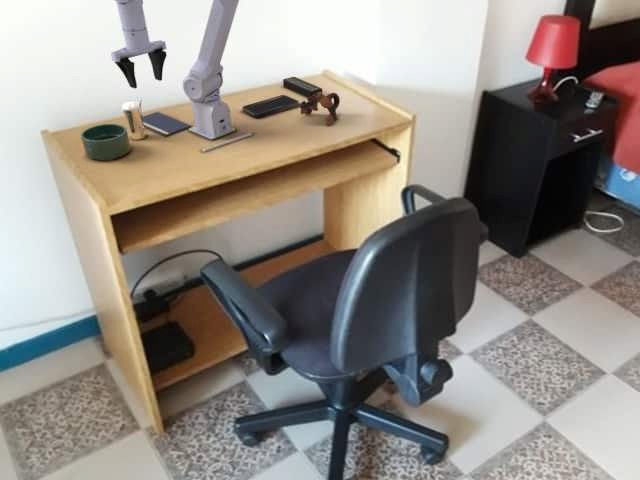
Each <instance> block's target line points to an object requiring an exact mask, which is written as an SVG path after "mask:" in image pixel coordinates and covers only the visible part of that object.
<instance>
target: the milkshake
mask: <svg viewBox="0 0 640 480" xmlns="http://www.w3.org/2000/svg"><path fill="white" fill-rule="evenodd" d="M121 110H122V113H123V115H124V118H125V121H126V124H127V127H128V130H129V133H130V137H131V139H132V140H136V141H138V140H143V139H145V138H146V132H145V131H146V130H145V127H144V124H143V117H144V116H143V108H142V99H140V103H139V102H138V101H135V100H133V101H132V100H131V101H126V102H124V103H123V104H122V106H121Z"/></svg>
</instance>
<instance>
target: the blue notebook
mask: <svg viewBox="0 0 640 480" xmlns="http://www.w3.org/2000/svg"><path fill="white" fill-rule="evenodd" d="M142 117H143V124H144V129H148V130H150V131H152V132H155V133H157V134H158V135H162V136H164V137H169V136H171V135H173V134H176V133H179V132H181V131H184V130H187V129H189V128H192V125H190V124H188V123H185V122H182V121H180V120H178V119H175V118H173V117H171V116H168V115H166V114H163V113H160V112H159V111H156V112H153V113H150V114H146V115H144V116H142Z"/></svg>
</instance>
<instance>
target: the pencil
mask: <svg viewBox="0 0 640 480" xmlns="http://www.w3.org/2000/svg"><path fill="white" fill-rule="evenodd" d="M252 135H253V133H251V132H248V133H245V134H243V135H242V134H241V135H240V136H237V137H234V138H231V139H228V140H225V141H222V142H220V143H217V144H214V145H211V146H208V147H205V148H202V152H203V153H206V152H209V151H211V150H215V149H217V148H221V147H223V146H226V145H228V144H232V143H234V142H237V141H239V140H240V141H241V140H242V139H245V138H248V137H251V136H252Z"/></svg>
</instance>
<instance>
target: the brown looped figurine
mask: <svg viewBox="0 0 640 480" xmlns="http://www.w3.org/2000/svg"><path fill="white" fill-rule="evenodd" d="M332 100H333V101H332ZM340 102H341V99H340V96H339V94H338V93H336V92H331V93H329V94H327V95H324V94H323V91H322V92H318V93H316V94H314V95H312V96H311V97H309V98H307V101H306V100H303V101H302V102H301V103H300V104H299V106H298V107H299V108H300V115H305V116H310V115H311V114H312V112H313V111H314V112H317V111H319V108H318V104H320V105H321V107H322V108H324V109H327V111H328V112H329V114H328V115H327V116H326V117H325V119H324V120H325V121H326V124H327V125H328V126H330V125H332V124H334V123H335V122H336V121H337V120H338V116H337V109H339V106H340Z"/></svg>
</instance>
